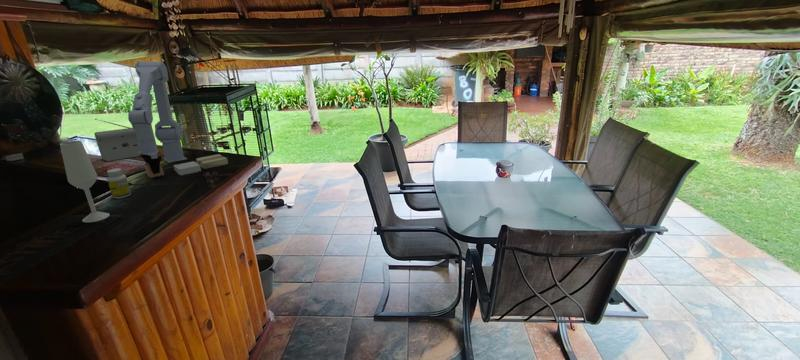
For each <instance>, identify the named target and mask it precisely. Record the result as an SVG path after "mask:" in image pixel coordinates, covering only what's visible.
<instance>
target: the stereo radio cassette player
mask: <svg viewBox="0 0 800 360" xmlns="http://www.w3.org/2000/svg"><path fill="white" fill-rule="evenodd" d="M94 120H96V121H98V118H94ZM99 121H101V122H104V123H107V124H111V125H114V126H118V127H123V128H120V129H112V130H103V131H95V132H94V137H95V141H96V144H97V148H98V150H99V154H100V157H101V158H102V160H104V161H105V162H108V163H109V162H111V161H119V160H124V159H130V158H135V157H136V158H137V157H141V156H140V155H141V154H138V153H137V152H139V151H140V147H139V143H138V140H137V136H136V132H135V129H133V127H130V126H129V127H128V126H125V125H121V124H117V123H113V122H109V121H106V120H101V119H99Z"/></svg>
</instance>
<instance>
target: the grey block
mask: <svg viewBox="0 0 800 360" xmlns="http://www.w3.org/2000/svg"><path fill="white" fill-rule="evenodd" d="M173 169H174V172H175V171H176V172H177V173H176V172H175V173H176V174H178V175H179V176H180V175H181V176H184V175H185V174H186V175H189V174H195V173H200V172H202V167H201V166H200V165H199V164H197V162H196V161H189V162H188V161H187V162H184V163H179V164H178V163H177V164H173ZM199 171H200V172H199Z"/></svg>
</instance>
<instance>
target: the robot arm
mask: <svg viewBox="0 0 800 360" xmlns="http://www.w3.org/2000/svg"><path fill="white" fill-rule="evenodd" d="M134 68H135V72H136V75H137V76H138V79H139V82H138V92H136V93H135V94H134V98H133V106H132V109H131V110H130V111H129V112H128V113H127V115H128V116H127V119H128V122H129V123H130V125H131V128H133V129H135V132H136V136H137V140H138V143H139V147H140V151H139V152H137V153H138V154H141V155H140V156H139V157H141V158H142V159H143V161H144V163H148V164H149V166H150V168H151V170H152V172H153V174H157V173H160V163H161V160H162V159H163V160H164V161H165V162H166V163H168V164H169V163H174V162H179V161H181V162H182V161H185V160H186V161H187V160H188V158H187V157H186V156H185V155H184V151H183V146H182V142H181V140H183V138H184V131H183V128H182V125H181V123H180V122H178V121H177V120H174V118H173V116H172V115H173V114H172V110H171V106H170V105H171V104H170V99H169V94H168V90H167V82H169V74H168V73H169V72H168V67H167V66H166V64H165V63H164V62H163V61H161V60H160V61H136V63H135V66H134ZM152 88H153V94H154V99H155V103H156V109H157V112H158V113H157V114H158V118H159V121H158V122H156V123H155V125H154V129H153V126H152V123H153V121H154V116H153V110H152V105H153V104H152V103H153V97H152V95H151V91H152ZM156 140H158V141H159V142H160V144H161V148H162V151H163V156H164V157H162V156H161V155H159V156H158V153H159V152H160V151H159V148H158V145H157V142H156Z"/></svg>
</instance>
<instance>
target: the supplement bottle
mask: <svg viewBox="0 0 800 360" xmlns="http://www.w3.org/2000/svg"><path fill="white" fill-rule="evenodd" d="M107 176H108V177H107V178H106V182H107V185H108V186H109V190H110V193H111V196H112V198H114V199H116V200H117V199H124V198H127V197H129V196H131V195H132V191H131V189H130V185H129V181H128V178H127V176H126V175H125V174H124V173H123V170H122V168H119V167H118V168H111V169H108V170H107Z"/></svg>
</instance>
